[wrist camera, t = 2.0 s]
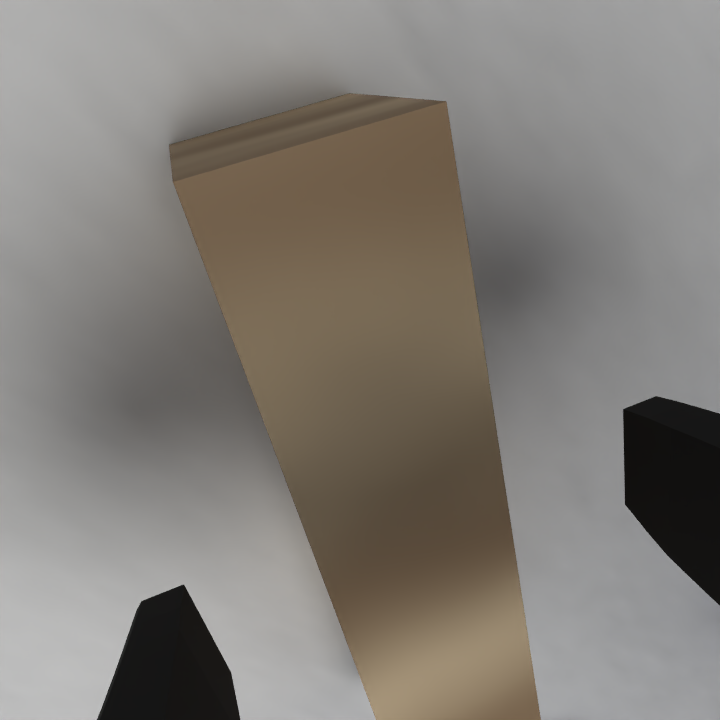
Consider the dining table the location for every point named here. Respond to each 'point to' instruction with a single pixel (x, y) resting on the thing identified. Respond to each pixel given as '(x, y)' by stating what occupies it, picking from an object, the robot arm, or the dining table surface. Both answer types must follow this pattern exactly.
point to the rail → (373, 386)
